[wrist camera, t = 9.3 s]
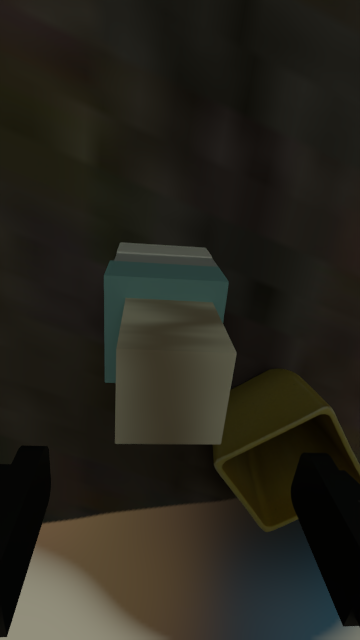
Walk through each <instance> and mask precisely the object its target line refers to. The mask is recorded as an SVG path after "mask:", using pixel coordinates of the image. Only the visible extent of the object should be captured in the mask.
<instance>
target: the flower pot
mask: <svg viewBox="0 0 360 640" xmlns="http://www.w3.org/2000/svg"><path fill="white" fill-rule="evenodd" d="M304 452H309V453H327V454H329V455H330V456H331V458H332V459H333V461H334V463H335V464H336V466H337V467H338V469H339V470H345V471H346V472H347V473H348V474H349V475H350V476H352V477H353V478H354V479H355V480H356V481H357V482H358V483H359V484H360V464H359V462H358V461H357V459H356V457H355V455H354V453H353V451H352V449H351V447H350V445H349V443H348V441H347V439H346V437H345V435H344V432H343V430H342V428H341V426H340V424H339V422H338V419H337V417H336V415H335V413H334V411H333V409H332V408H331V407H330V406H329V405H328V404H327V403H326V402H325V401H324V400H323V399H322V398H321V397H320V396H319V395H318V394H317V393H316V392H315V391H314V390H313V389H312V388H311V387H310V386H309V385H308V384H307V383H306V382H305V381H304V380H303V379H302V378H301V377H300V376H298V375H297V374H295V373H293V372H291V371H289V370H285V369H270V370H268V371H266V372H264V373H262V374H260V375H258V376H256V377H254V378H252V379H251V380H249V381H247V382H245V383H243V384H241V385H239V386H237V387H235V388H233V389H231V390H230V395H229V400H228V406H227V412H226V418H225V423H224V429H223V435H222V441H221V444H213V460H214V467H215V469H216V470H217V472H218V473H219V474H220V476H221V477H222V478H223V480H224V481H225V482H226V484H227V485H228V486H229V487H230V489H231V490H232V491H233V493H234V494H235V495H236V497H237V498H238V499H239V500H240V502H241V503H242V504H243V506H244V507H245V508H246V509H247V511H248V512H249V513H250V515H251V516H252V518H253V519H254V520H255V522H256V523H257V524H258V525H259V527H260V528H261V529H262V530H264V531H265V532H269V531H272V530H275V529H277V528H279V527H282V526H284V525H286V524H288V523H290V522H292V521H295V520H297V519H298V517H297V515H296V512H295V510H294V507H293V505H292V501H291V484H292V481H293V478H294V475H295V472H296V468H297V465H298V462H299V459H300V456H301V454H302V453H304Z"/></svg>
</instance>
